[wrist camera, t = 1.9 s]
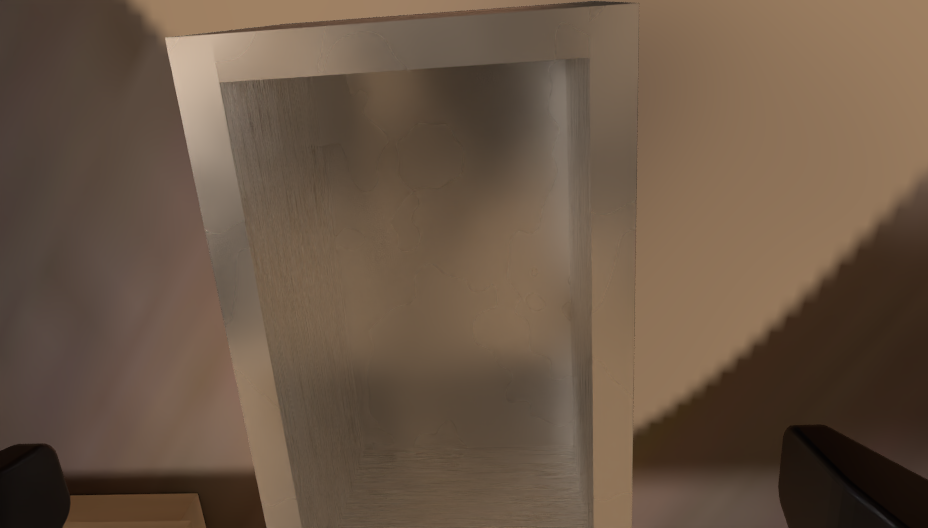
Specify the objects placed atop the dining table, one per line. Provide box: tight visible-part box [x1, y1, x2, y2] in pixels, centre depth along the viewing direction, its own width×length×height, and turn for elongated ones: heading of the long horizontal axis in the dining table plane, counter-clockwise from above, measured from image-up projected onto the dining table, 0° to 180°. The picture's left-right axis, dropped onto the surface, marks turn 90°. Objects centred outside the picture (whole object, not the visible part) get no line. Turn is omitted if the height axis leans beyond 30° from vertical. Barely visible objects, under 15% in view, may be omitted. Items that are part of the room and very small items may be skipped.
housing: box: [165, 1, 639, 528], centre depth 13 cm, size 10×6×5 cm, turn 4°
